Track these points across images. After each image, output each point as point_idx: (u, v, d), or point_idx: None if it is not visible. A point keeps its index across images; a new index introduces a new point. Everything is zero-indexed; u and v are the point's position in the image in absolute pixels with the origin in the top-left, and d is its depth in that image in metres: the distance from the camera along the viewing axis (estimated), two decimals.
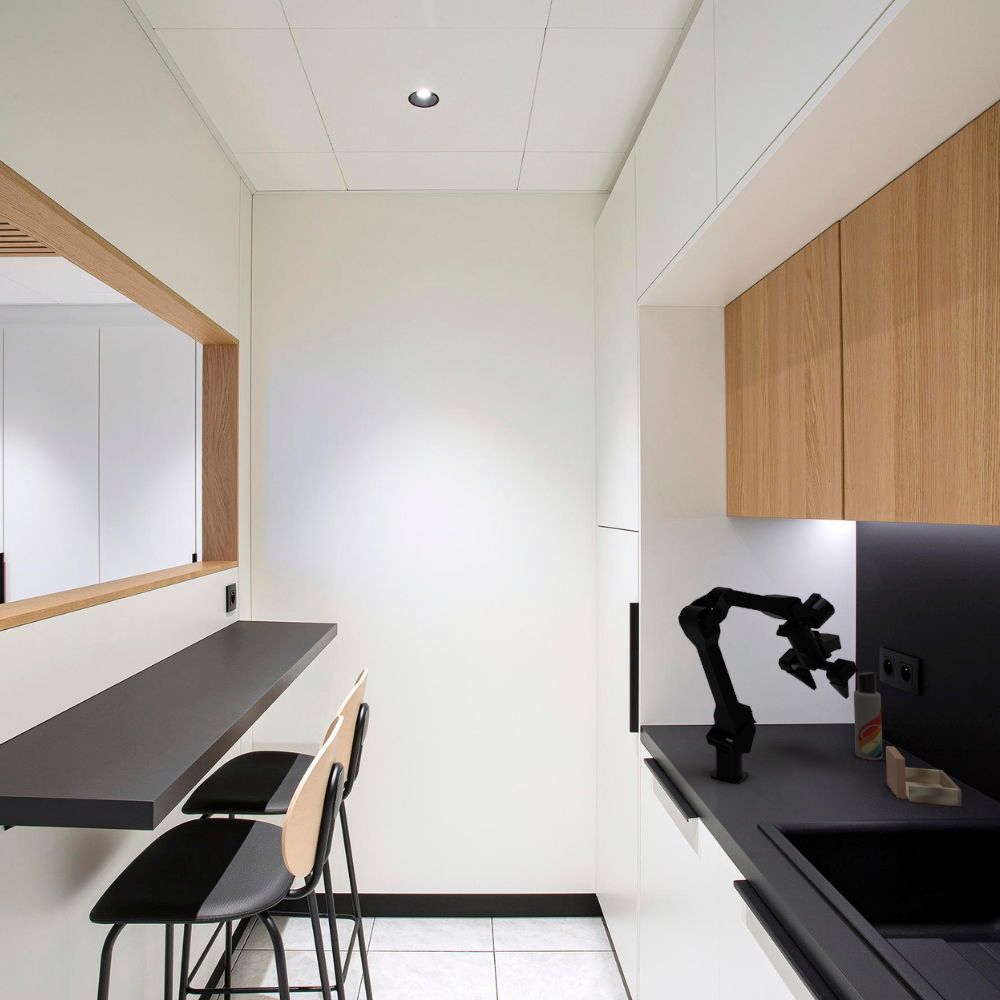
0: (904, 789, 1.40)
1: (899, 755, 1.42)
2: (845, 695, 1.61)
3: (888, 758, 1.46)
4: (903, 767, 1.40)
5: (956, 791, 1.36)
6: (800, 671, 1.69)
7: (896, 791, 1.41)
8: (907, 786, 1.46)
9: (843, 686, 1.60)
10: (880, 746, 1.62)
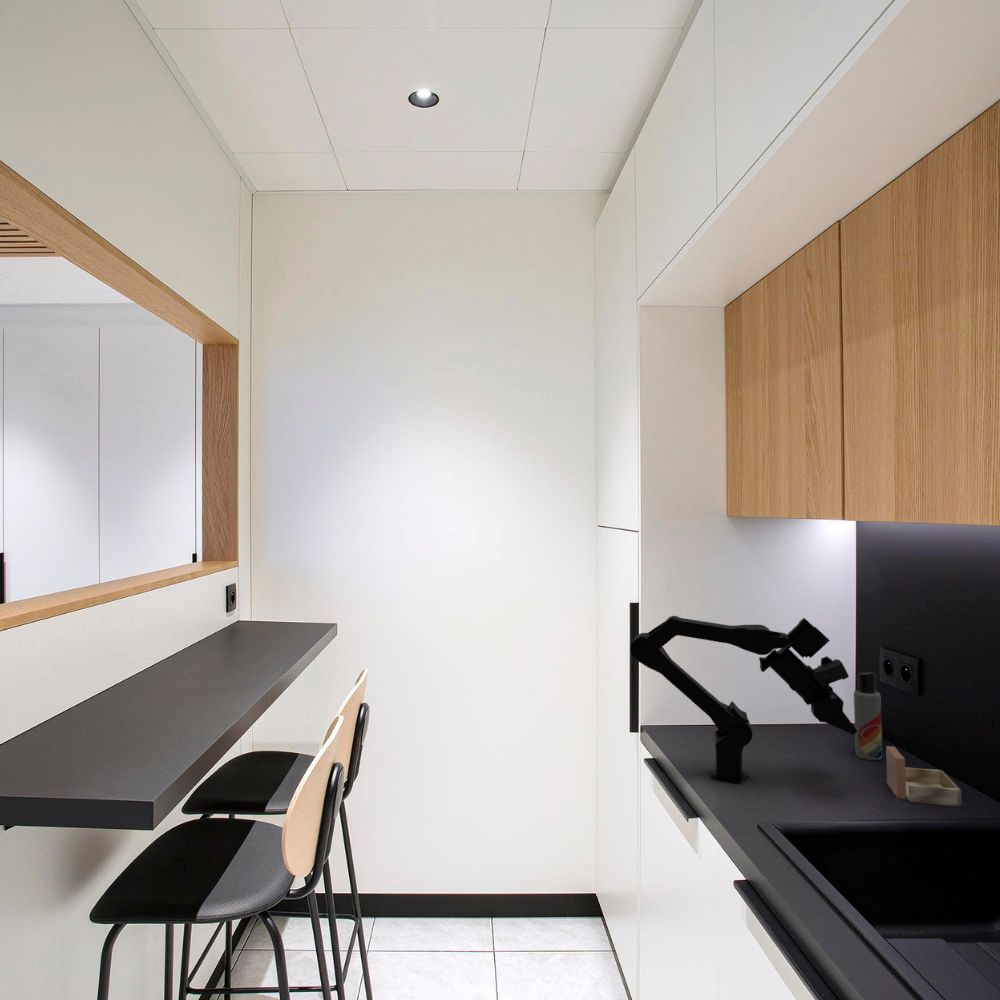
0: (904, 789, 1.40)
1: (899, 755, 1.42)
2: (849, 730, 1.43)
3: (888, 758, 1.46)
4: (903, 767, 1.40)
5: (956, 791, 1.36)
6: None
7: (896, 791, 1.41)
8: (907, 786, 1.46)
9: (840, 721, 1.43)
10: (880, 746, 1.62)
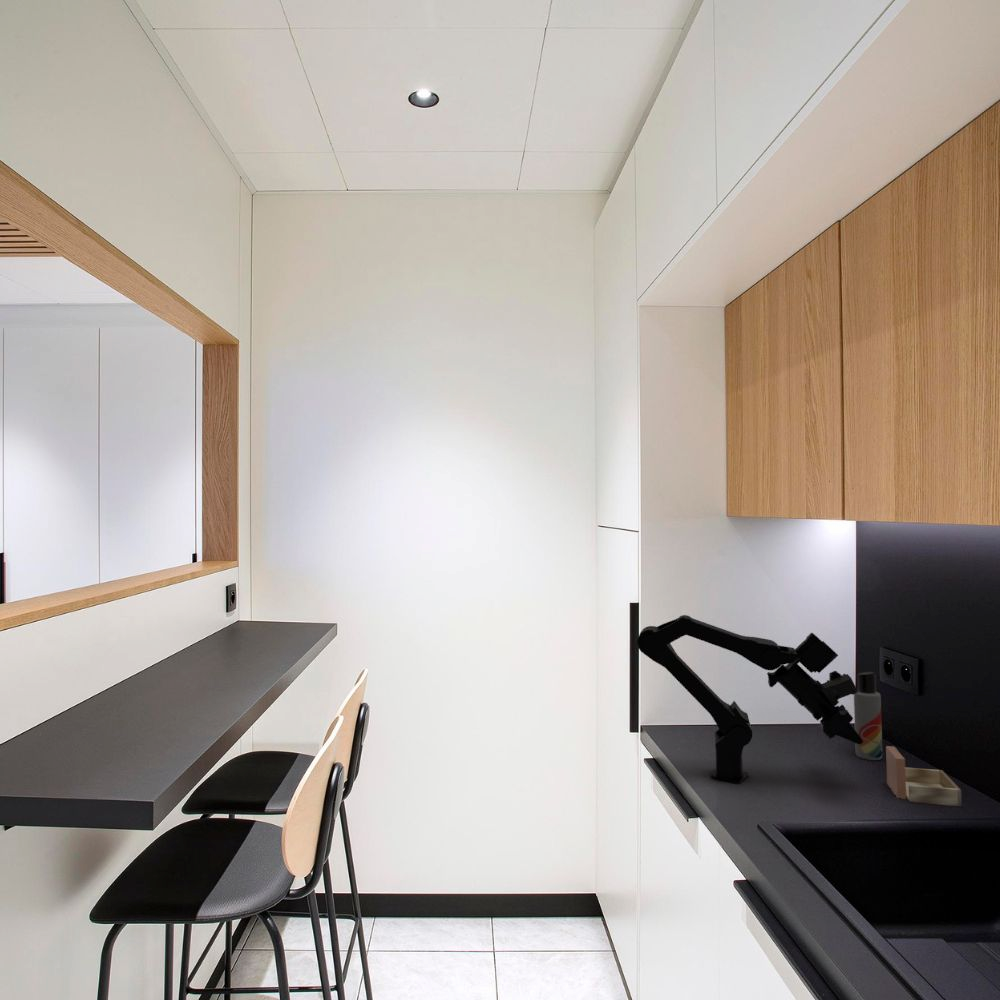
0: (904, 789, 1.40)
1: (899, 755, 1.42)
2: (855, 741, 1.46)
3: (888, 758, 1.46)
4: (903, 767, 1.40)
5: (956, 791, 1.36)
6: None
7: (896, 791, 1.41)
8: (907, 786, 1.46)
9: (846, 731, 1.46)
10: (880, 746, 1.62)
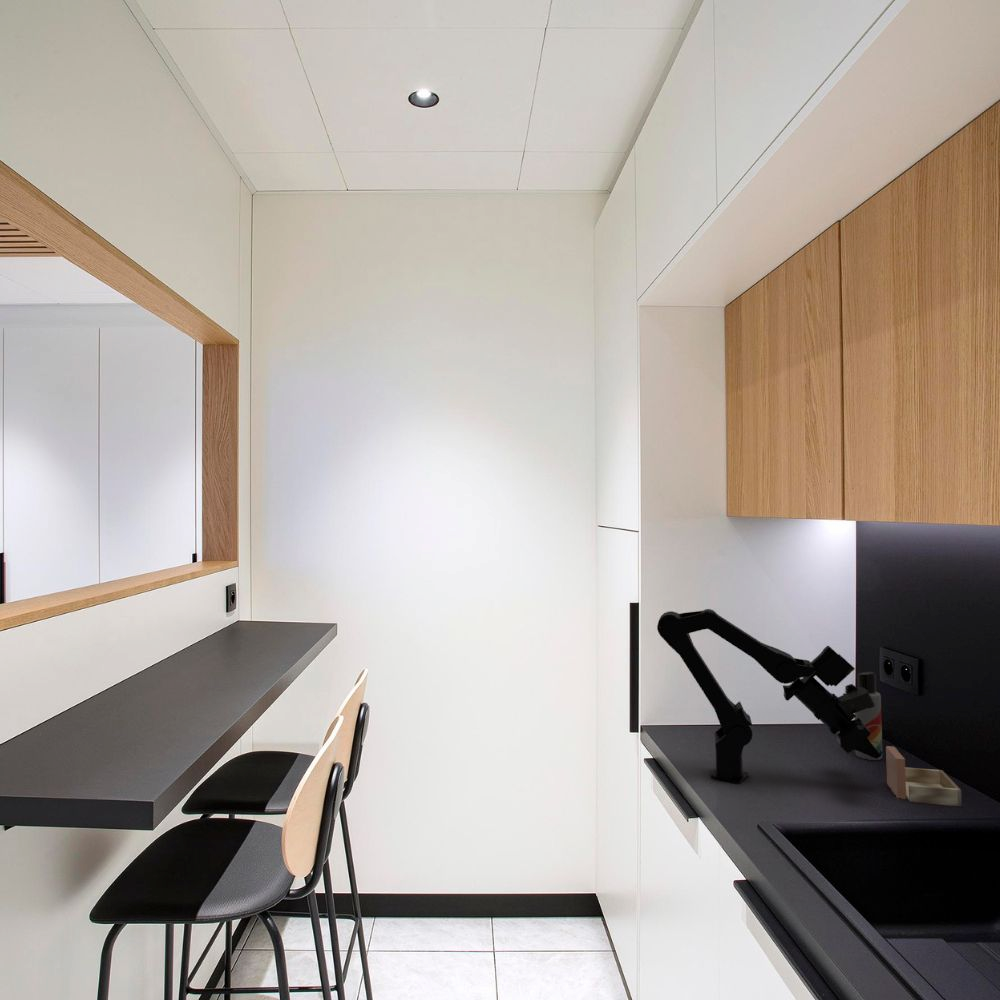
0: (904, 789, 1.40)
1: (899, 755, 1.42)
2: (872, 755, 1.45)
3: (888, 758, 1.46)
4: (903, 767, 1.40)
5: (956, 791, 1.36)
6: None
7: (896, 791, 1.41)
8: (907, 786, 1.46)
9: (863, 745, 1.45)
10: (880, 746, 1.62)
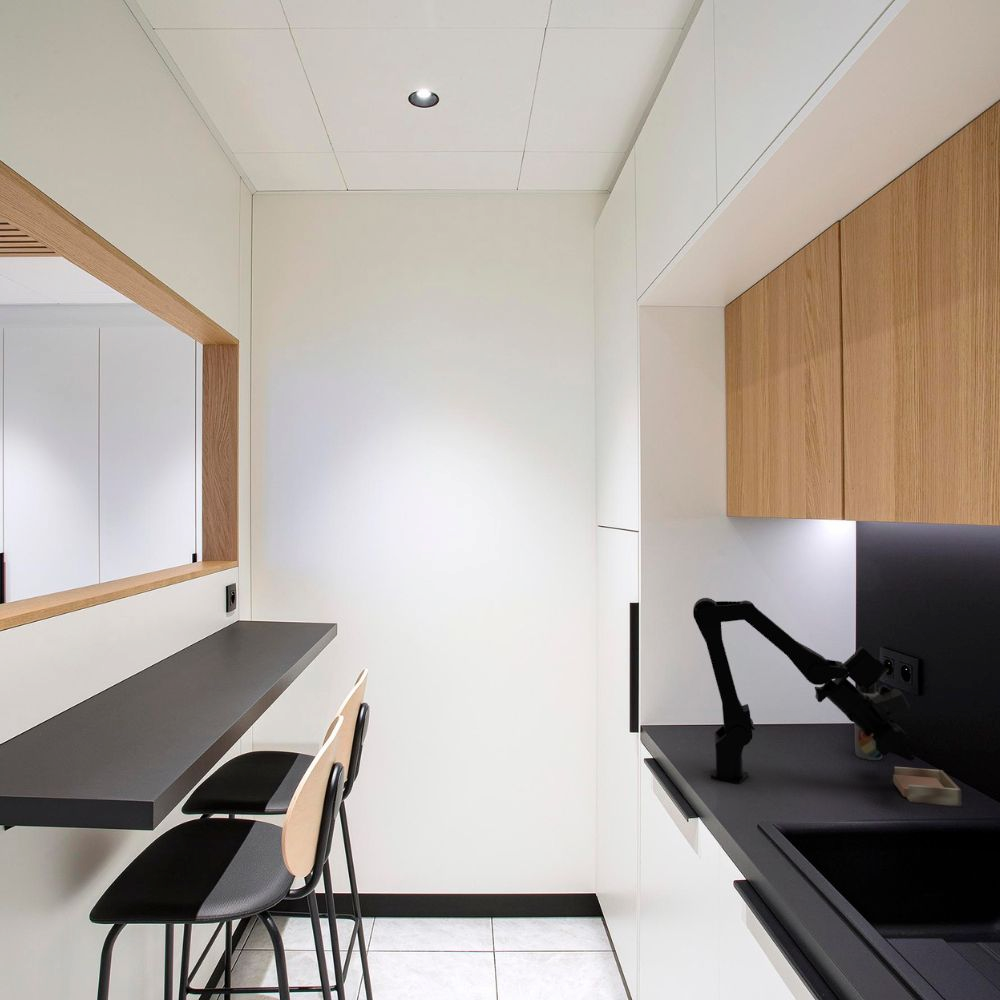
0: None
1: None
2: (906, 757, 1.43)
3: (927, 780, 1.44)
4: None
5: (956, 791, 1.36)
6: None
7: None
8: None
9: (897, 748, 1.43)
10: None
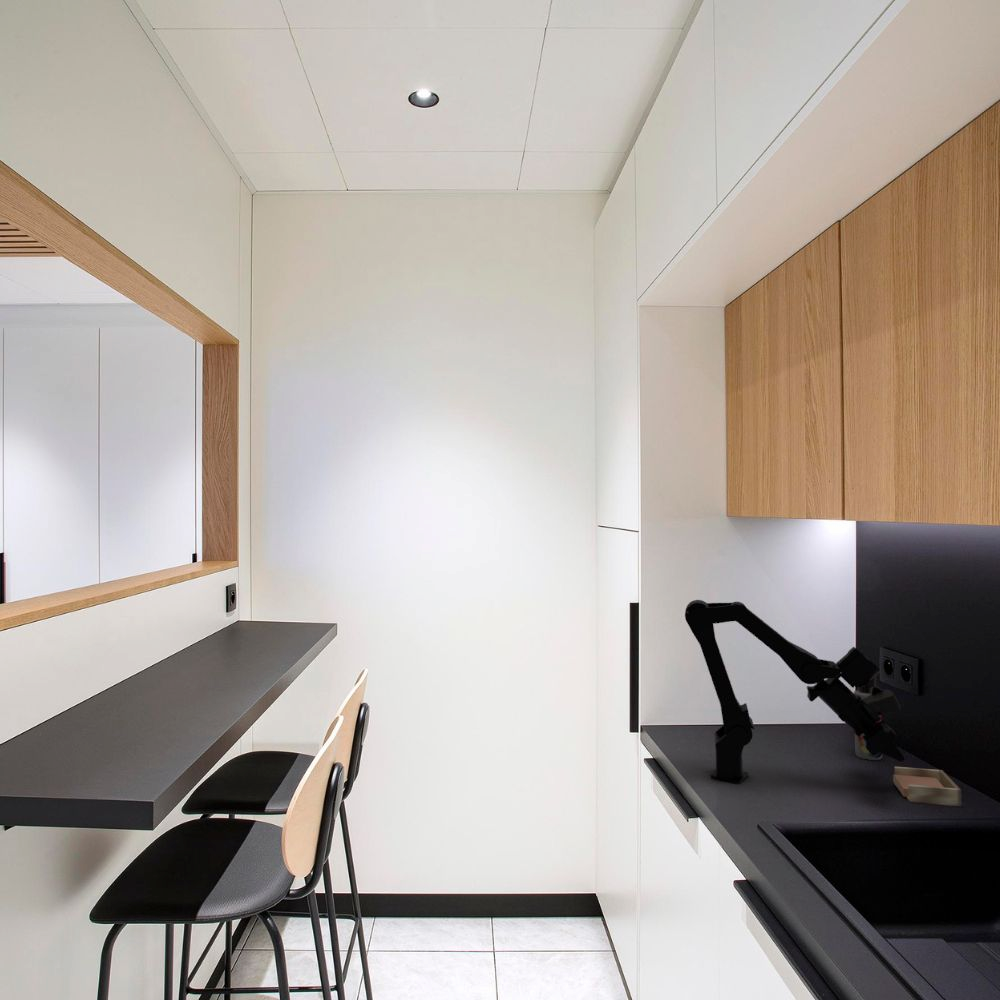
0: None
1: None
2: (896, 758, 1.44)
3: (927, 780, 1.44)
4: None
5: (956, 791, 1.36)
6: None
7: None
8: None
9: (887, 748, 1.43)
10: None
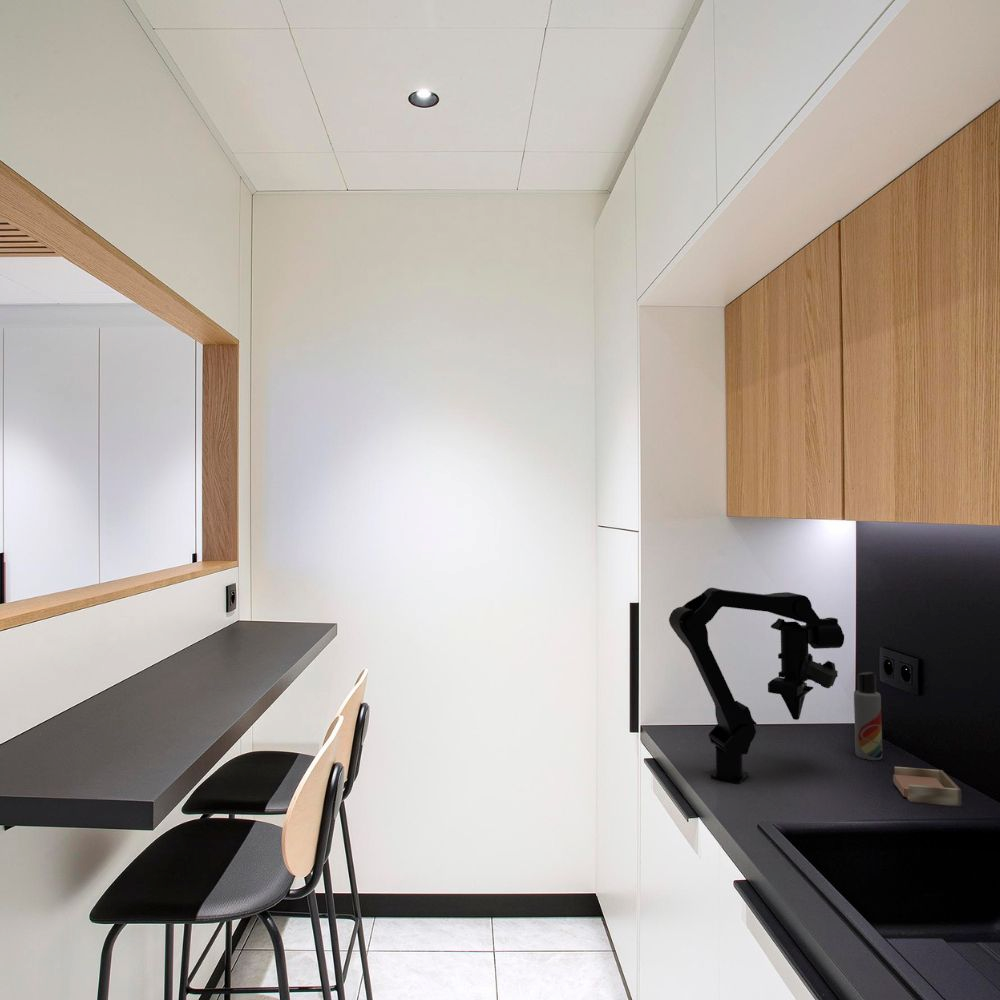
0: None
1: None
2: (792, 713, 1.55)
3: (927, 780, 1.44)
4: None
5: (956, 791, 1.36)
6: None
7: None
8: None
9: (791, 702, 1.55)
10: (880, 746, 1.62)
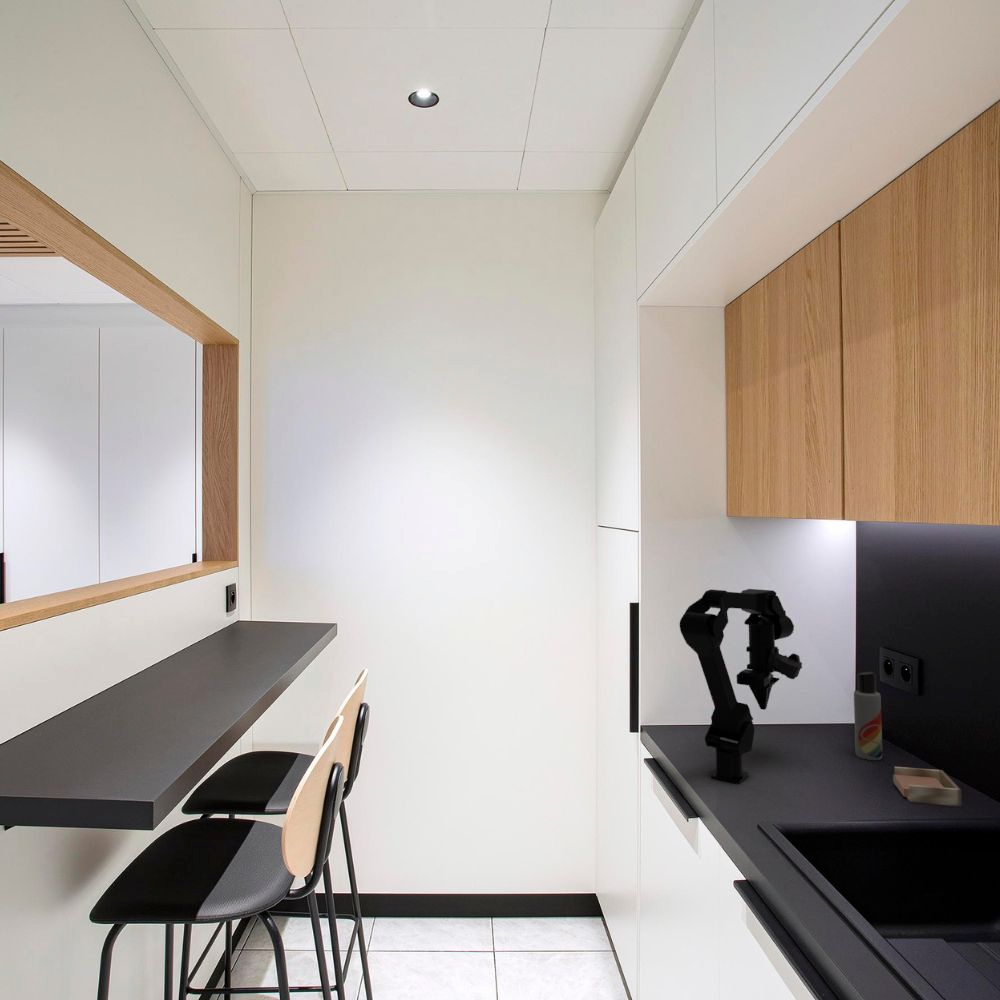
0: None
1: None
2: (759, 704, 1.63)
3: (927, 780, 1.44)
4: None
5: (956, 791, 1.36)
6: None
7: None
8: None
9: (759, 693, 1.63)
10: (880, 746, 1.62)
